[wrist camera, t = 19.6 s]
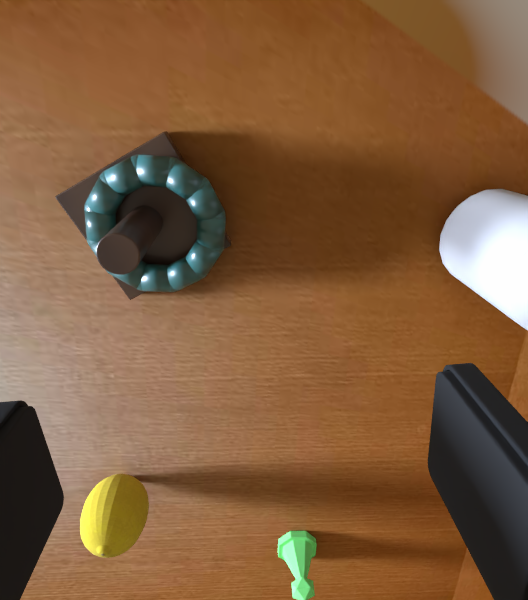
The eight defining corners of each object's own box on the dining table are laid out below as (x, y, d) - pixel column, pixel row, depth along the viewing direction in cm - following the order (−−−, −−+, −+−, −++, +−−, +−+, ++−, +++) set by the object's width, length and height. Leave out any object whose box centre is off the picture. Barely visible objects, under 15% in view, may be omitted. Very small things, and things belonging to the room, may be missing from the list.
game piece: (269, 552, 47) (274, 609, 42) (287, 525, 46) (294, 581, 40) (305, 561, 48) (313, 619, 43) (323, 535, 47) (334, 592, 41)
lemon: (86, 485, 42) (55, 563, 35) (113, 447, 41) (86, 520, 33) (138, 507, 44) (118, 586, 36) (165, 470, 42) (150, 546, 35)
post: (166, 130, 30) (139, 137, 22) (231, 241, 34) (229, 283, 25) (60, 193, 32) (-4, 222, 23) (133, 294, 35) (99, 352, 26)
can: (547, 208, 34) (696, 253, 23) (493, 292, 37) (604, 368, 26) (467, 171, 32) (586, 199, 21) (417, 260, 35) (499, 327, 24)
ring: (183, 128, 29) (180, 129, 27) (247, 252, 33) (248, 260, 31) (62, 193, 30) (51, 198, 29) (137, 305, 34) (131, 316, 32)
